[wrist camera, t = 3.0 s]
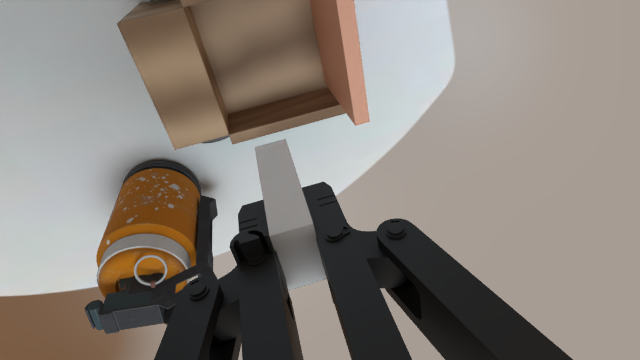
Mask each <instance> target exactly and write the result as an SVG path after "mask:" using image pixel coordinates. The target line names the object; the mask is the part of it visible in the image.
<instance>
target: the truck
mask: <svg viewBox="0 0 640 360" xmlns="http://www.w3.org/2000/svg"><path fill="white" fill-rule="evenodd" d="M117 25H118V27H119V29H120V31H121V34H122V36H123V38H124V40H125V42H126V44H127V47H128V49H129V51H130V53H131V55H132V58H133V60H134V62H135V64H136V66H137V68H138V71H139V73H140V75H141V77H142V79H143V81H144V84H145V86H146V88H147V90H148V92H149V94H150V97H151V99H152V101H153V103H154V105H155V108H156V110H157V112H158V114H159V116H160V118H161V121H162V123H163V125H164V127H165V129H166V131H167V134H168V136H169V138H170V140H171V142H172V144H173V147H174V149H175V150H176V149H179V148H183V147H187V146H190V145H194V144H198V143H213V142H217V141H220V140H223V139H226V138H228V137H229V136H230V139H231V142H232V144H236V143H239V142H243V141H247V140H250V139H254V138H258V137H261V136H265V135H268V134H272V133H276V132H279V131H283V130H287V129H290V128H294V127H298V126H301V125H305V124H309V123H312V122H316V121H319V120H323V119H327V118H330V117H334V116H338V115H341V114H345V113H346V112H345V111H344V109H343V108H342V106H341V105H340V104H339V102H338V101H337V100H336V98H335V97H334V95H333V94H332V93H331V91H330V90H329V89H328V87H327V86H326V84H325V78H324V73H323V68H322V63H321V57H320V52H319V47H318V41H317V36H316V31H315V25H314V20H313V15H312V9H311V4H310V0H154V1H150V2H146V3H142V4H139V5H138V6H136V7H135V8H134V9H133V10H132V11H131V12H130V13H129V14H127V15H126V16H125V17H124V18H123V19H122V20H121V21H119V22H118V23H117Z"/></svg>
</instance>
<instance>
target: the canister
mask: <svg viewBox="0 0 640 360" xmlns="http://www.w3.org/2000/svg"><path fill="white" fill-rule="evenodd" d="M217 215H218V214H217V207H216V200H215V199H213V198H209V197H205V196H201V188H200V185H199V182H198V180H197V179H196V177H195V176H194V175H193V174H192V173H191V172H190V171H189V170H187V169H186V168H184V167H182V166H181V165H178V164H175V163H172V162H167V161H152V162H147V163H144V164H141V165H139V166H137V167H136V168H134V169H133V170H132V171H131V172H130V173H129V174H128V175H127V176H126V178H125V180H124V182H123V185H122V188H121V190H120V193H119V195H118V198H117V201H116V203H115V206H114V209H113V211H112V214H111V217H110V219H109V222H108V225H107V227H106V230H105V232H104V235H103V238H102V240H101V243H100V246H99V248H98V252H97V265H98V268H99V269H98V272H97V282H98V286H99V288H100V290H101V292H102V294H103V296H104V297H105V301H104V304H103V302H102V301H100V300H96V301H92V302H90V303H89V304H88V305H87V306H86V307H85V312H86V314H87V316H88V319H89V321H90V323H91V325H92V328H93V329H94V328H95V326H96V329H97V330H102V329H104V331H105V332H106V334H109V333H116V332H119V331H120V330H124V329H130V328H137V327H143V326H149V325H156V324H162V323H164V324H167V325H168V323H169V320H170V318H171V315H172V312H173V310H174V307H175V305H176V302H177V300H178V297H179V295H180V293H181V291H182V289H183V288H184V287H185V286H186V285H187V284H188V283H189V279H190V278H192V277H194V276H196V275H198V277H202V276H212V277H214V278H216V280H217V277H216V276H215V274H214V272H213V255H212V220H213V219H214V218H215V217H216V216H217Z"/></svg>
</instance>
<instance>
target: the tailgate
mask: <svg viewBox="0 0 640 360" xmlns="http://www.w3.org/2000/svg"><path fill="white" fill-rule="evenodd" d="M310 4H311V9H312V15H313V20H314V25H315V31H316V36H317V41H318V47H319V52H320V57H321V63H322V68H323V73H324V78H325V84H326V86H327V87H328V89H329V90H330V91H331V93H332V94H333V95H334V97H335V98H336V100H337V101H338V102H339V104H340V105H341V106H342V108H343V109H344V111H345V112H346V113H347V115H348V116H349V117H350V119H351V120H352V122H353V123H354V124H355V126H356V125H359V124H363V123H367V122H370V121H369V113H368V105H367V98H366V90H365V82H364V75H363V67H362V59H361V51H360V44H359V36H358V28H357V20H356V13H355V5H354V0H310Z"/></svg>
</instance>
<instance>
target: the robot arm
mask: <svg viewBox="0 0 640 360" xmlns="http://www.w3.org/2000/svg"><path fill="white" fill-rule="evenodd" d="M255 152H256V158H257V164H258V170H259V176H260V182H261V188H262V194H263V200H261V201H257V202H254V203H250V204H247V205H243V206H242V208H241V210H240V212H239V214H238V221H239V234H237V235H236V236H235V237H234V238H233V239H232V241H231V243H230V249H231V251H232V253H233V255H234V258H235V260H236V263H237V266H236V267H235V268H234V269H233V270H232V271H231V272H230V273H228V274H227V275H225V276H224V277H221V278H220V279H218V280H216V278H214V277H212V276H202V277H198V278H196V279H194V280H192V281H190V282H189V283H188V284H187V285H186V286H185V287H184V288H183V289H182V291H181V293H180V295H179V297H178V300H177V302H176V305H175V307H174V310H173V312H172V315H171V318H170V320H169V323H168V325H167V328H166V330H165V333H164V336H163V338H162V341H161V344H160V346H159V349H158V351H157V353H156V356H155V359H154V360H238V357H239V351H240V347H241V342H242V357H243V360H303V355H302V351H301V346H300V341H299V335H298V331H297V326H296V321H295V316H294V311H293V306H292V301H291V298H290V296H289V293H288V290H292V289H296V288H299V287H302V286H305V285H309V284H312V283H315V282H318V281H321V280H325V279H327V280H328V284H329V288H330V291H331V295H332V299H333V302H334V304H335V307H336V310H337V314H338V317H339V320H340V324H341V327H342V330H343V333H344V336H345V339H346V343H347V346H348V349H349V352H350V356H351V359H352V360H412V359H411V356H410V354H409V352H408V350H407V348H406V345H405V343H404V341H403V339H402V337H401V334H400V332H399V330H398V328H397V325H396V323H395V321H394V319H393V317H392V315H391V312H390V310H389V308H388V306H387V304H386V301H385V299H384V297H383V295H382V292H381V290H380V288H385V289H386V291H387V292H388V293H389V295H390V296H391V297H392V298H393V299H394V300H395V302H396V303H397V304H398V305H399V306H400V307H401V309H402V310H403V311H404V312H405V313H406V314H407V316H408V317H409V318H410V319H411V320H412V321H413V323H414V324H415V325H416V326H417V327H418V328H419V330H420V331H421V332H422V333H423V334H424V335H425V336H426V338H427V339H428V340H429V341H430V342H431V344H432V345H433V346H434V347H435V348H436V349H437V351H438V352H439V353H440V354H441V355H442V356H443V357H444V359H445V360H573V359H572V358H570V357H569V356H568V355H567V354H566V353H565V352H563V351H562V350H561V349H560V348H559V347H557V346H556V345H555V344H554V343H553V342H552V341H550V340H549V339H548V338H547V337H545V336H544V335H543V334H542V333H541V332H540V331H538V330H537V329H536V328H535V327H534V326H533V325H531V324H530V323H529V322H528V321H527V320H526V319H524V318H523V317H522V316H521V315H519V313H517V312H516V311H515V310H514V309H513V308H511V307H510V306H509V305H508V304H507V303H506V302H504V301H503V300H502V299H501V298H500V297H498V296H497V295H496V294H495V293H494V292H493V291H491V290H490V289H489V288H488V287H487V286H485V285H484V284H483V283H482V282H481V281H479V280H478V279H477V278H476V277H475V276H474V275H472V274H471V273H470V272H469V271H468V270H467V269H465V268H464V267H463V266H462V265H461V264H459V263H458V262H457V261H456V260H455V259H453V258H452V257H451V256H450V255H449V254H448V253H447V252H445V251H444V250H443V249H442V248H440V247H439V246H438V245H437V244H436V243H435V242H434V241H432V240H431V239H430V238H429V237H428V236H426V235H425V234H424V233H423V232H422V231H421V230H419V229H418V228H417V227H416V226H415V225H413V224H412V223H410V222H409V221H407V220H404V219H390V220H387V221H384V222H383V223H382V224H380V225H379V227H378V228H377V231H370V232H366V231H358V230H356V229H353V228H352V227H351V226H350V225H349V224H348V223H347V221H346V219H345V217H344V215H343V212H342V210H341V208H340V205H339V203H338V202H337V199H336V197H335V194H334V192H333V190H332V188H331V186H329V185H328V184H326V183H325V182H321V183H317V184H314V185H310V186H307V187H303V188H301V185H300V182H299V179H298V175H297V172H296V169H295V166H294V163H293V160H292V157H291V154H290V151H289V148H288V145H287V142H286V139H284V140H280V141H276V142H273V143H269V144H265V145H262V146H258V147H255ZM287 287H288V288H287Z"/></svg>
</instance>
